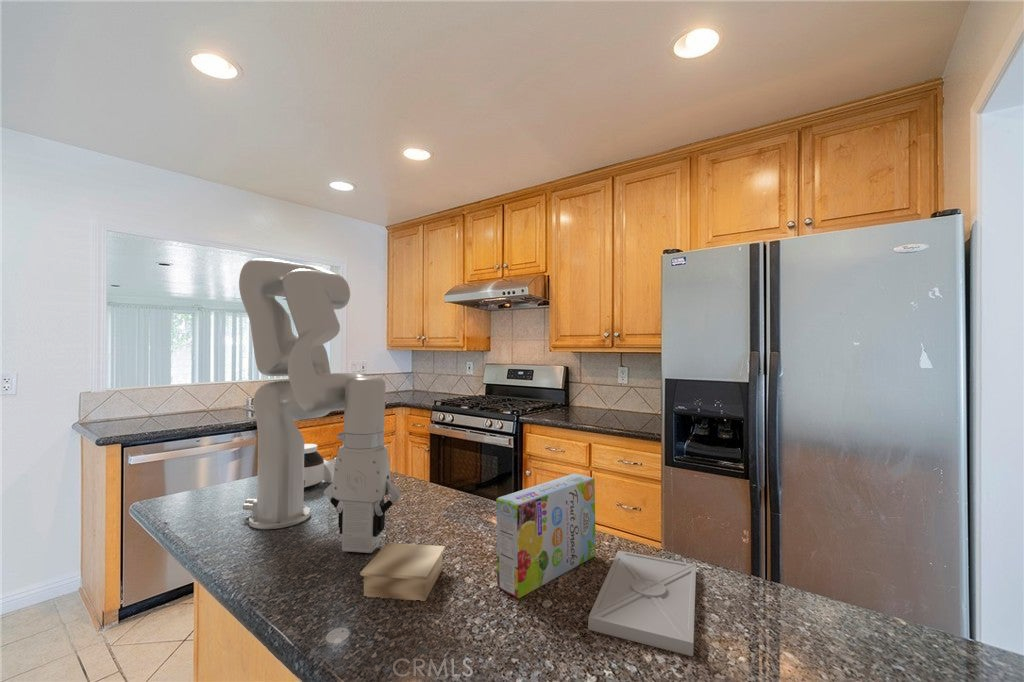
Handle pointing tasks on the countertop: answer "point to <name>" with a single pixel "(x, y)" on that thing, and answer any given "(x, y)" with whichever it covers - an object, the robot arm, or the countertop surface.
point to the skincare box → (358, 527)
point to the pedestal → (403, 571)
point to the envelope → (647, 602)
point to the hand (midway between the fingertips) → (361, 531)
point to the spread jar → (315, 468)
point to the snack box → (544, 532)
